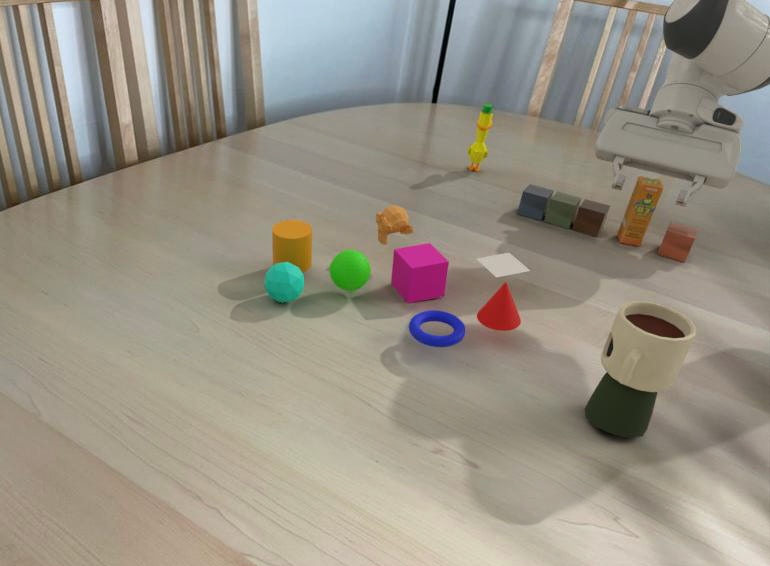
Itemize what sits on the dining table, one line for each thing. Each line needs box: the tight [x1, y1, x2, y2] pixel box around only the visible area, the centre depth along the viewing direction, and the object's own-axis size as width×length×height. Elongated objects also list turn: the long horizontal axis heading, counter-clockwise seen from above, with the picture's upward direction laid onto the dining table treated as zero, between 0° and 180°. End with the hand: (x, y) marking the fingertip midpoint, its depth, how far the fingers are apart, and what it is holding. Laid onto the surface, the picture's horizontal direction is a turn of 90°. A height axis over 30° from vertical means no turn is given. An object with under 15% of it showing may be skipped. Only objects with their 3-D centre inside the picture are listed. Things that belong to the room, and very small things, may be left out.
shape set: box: [263, 205, 531, 348], centre depth 94 cm, size 29×35×7 cm
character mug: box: [584, 300, 697, 439], centre depth 74 cm, size 11×7×13 cm, turn 140°
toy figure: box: [467, 103, 494, 172], centre depth 134 cm, size 7×4×12 cm, turn 161°
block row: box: [516, 183, 698, 263], centre depth 117 cm, size 4×26×4 cm, turn 59°
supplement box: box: [616, 175, 664, 247], centre depth 113 cm, size 3×3×10 cm
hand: (648, 195), depth 114 cm, fingers open, 8 cm apart
